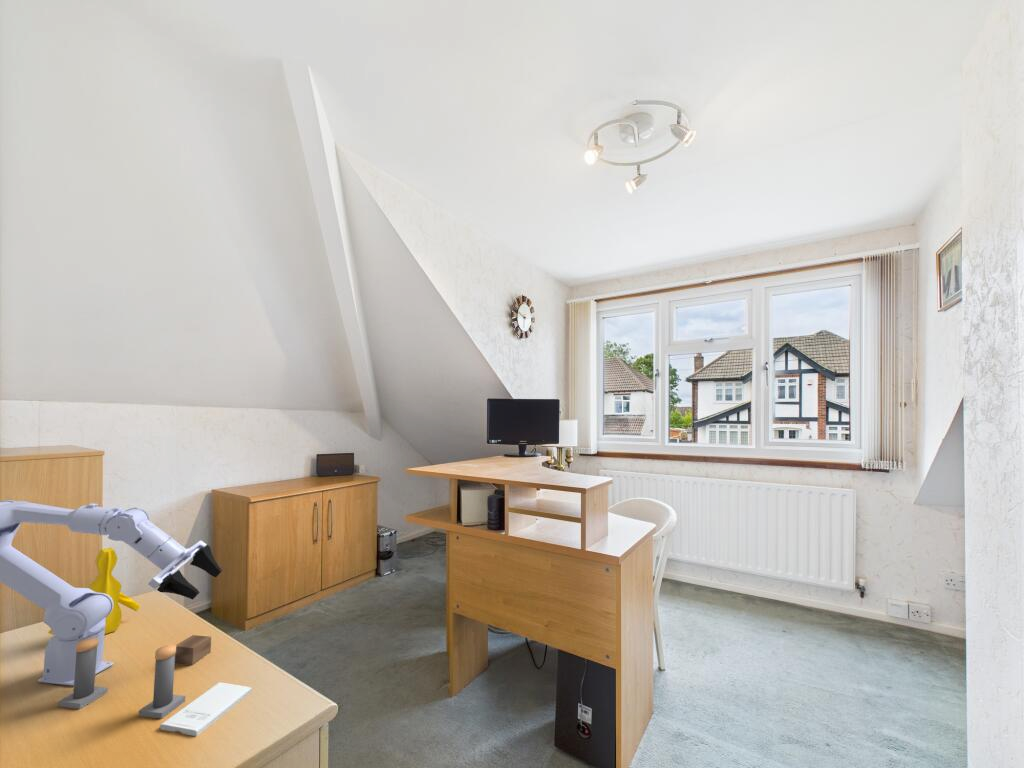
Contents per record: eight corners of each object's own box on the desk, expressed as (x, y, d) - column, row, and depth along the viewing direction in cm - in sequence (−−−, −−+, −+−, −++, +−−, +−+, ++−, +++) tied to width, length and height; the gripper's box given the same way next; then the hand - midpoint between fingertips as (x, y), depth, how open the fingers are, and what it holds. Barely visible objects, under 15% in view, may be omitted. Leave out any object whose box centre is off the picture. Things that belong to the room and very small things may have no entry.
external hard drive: (251, 695, 89) (196, 739, 77) (217, 689, 91) (159, 732, 79) (251, 687, 89) (196, 730, 77) (218, 681, 91) (159, 723, 79)
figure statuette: (136, 616, 121) (141, 537, 122) (147, 624, 117) (152, 541, 118) (44, 644, 106) (52, 553, 107) (53, 655, 102) (60, 560, 103)
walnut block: (172, 664, 99) (174, 646, 99) (191, 652, 104) (192, 635, 104) (192, 666, 98) (193, 647, 98) (210, 653, 103) (211, 636, 103)
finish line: (58, 706, 84) (62, 647, 85) (86, 690, 89) (90, 634, 90) (161, 718, 81) (165, 657, 82) (185, 701, 86) (188, 643, 87)
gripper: (143, 557, 92) (195, 596, 94) (193, 520, 106) (237, 555, 108) (125, 577, 93) (177, 615, 95) (177, 539, 107) (221, 572, 109)
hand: (208, 584), depth 102 cm, fingers open, 7 cm apart
